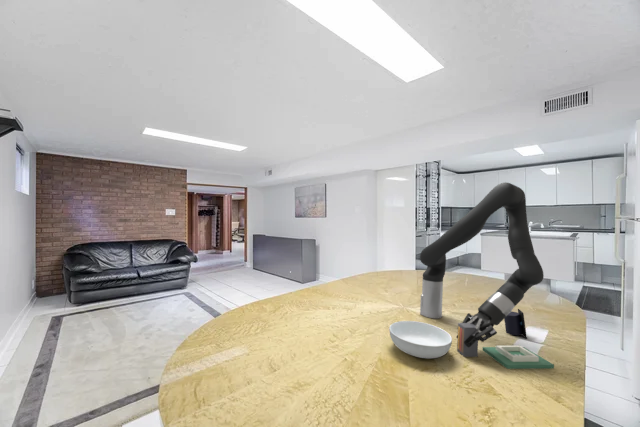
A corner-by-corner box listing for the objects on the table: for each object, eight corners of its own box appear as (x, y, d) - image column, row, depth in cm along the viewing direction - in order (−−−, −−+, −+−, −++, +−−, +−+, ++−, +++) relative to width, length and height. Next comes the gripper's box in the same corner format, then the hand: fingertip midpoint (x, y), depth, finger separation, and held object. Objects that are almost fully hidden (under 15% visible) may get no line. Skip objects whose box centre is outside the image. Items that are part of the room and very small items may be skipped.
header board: (507, 368, 89) (507, 360, 89) (482, 350, 101) (482, 342, 101) (553, 368, 90) (554, 360, 90) (524, 350, 102) (524, 342, 102)
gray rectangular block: (463, 356, 96) (464, 327, 96) (456, 350, 100) (457, 322, 100) (477, 356, 96) (478, 327, 96) (470, 350, 100) (471, 323, 100)
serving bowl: (425, 374, 85) (425, 351, 85) (376, 345, 102) (377, 326, 102) (464, 357, 96) (465, 337, 96) (414, 334, 113) (415, 317, 113)
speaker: (527, 334, 116) (525, 309, 117) (527, 339, 112) (524, 313, 112) (506, 330, 121) (503, 306, 122) (504, 335, 117) (502, 310, 117)
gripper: (476, 294, 106) (444, 326, 105) (503, 307, 92) (467, 344, 91) (489, 308, 106) (457, 340, 105) (518, 323, 92) (482, 360, 91)
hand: (462, 342), depth 98 cm, fingers closed on gray rectangular block, 4 cm apart
